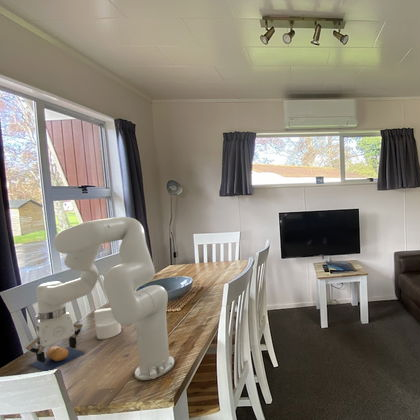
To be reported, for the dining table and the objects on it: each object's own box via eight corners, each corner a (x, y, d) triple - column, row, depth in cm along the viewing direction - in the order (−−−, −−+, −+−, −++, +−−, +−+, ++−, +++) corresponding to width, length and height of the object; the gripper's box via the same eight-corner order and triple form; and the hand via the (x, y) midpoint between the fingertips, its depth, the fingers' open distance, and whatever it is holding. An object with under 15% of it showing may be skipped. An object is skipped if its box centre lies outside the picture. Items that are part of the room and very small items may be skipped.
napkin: (84, 353, 112) (84, 353, 112) (46, 372, 101) (46, 371, 101) (68, 347, 116) (68, 347, 116) (30, 365, 105) (29, 364, 105)
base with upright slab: (123, 327, 133) (121, 303, 132) (117, 336, 124) (114, 311, 123) (101, 331, 129) (99, 307, 128) (93, 340, 121) (90, 315, 120)
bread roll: (71, 357, 109) (70, 347, 108) (57, 364, 105) (55, 353, 104) (58, 353, 112) (57, 342, 112) (44, 359, 108) (42, 348, 108)
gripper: (27, 325, 97) (33, 370, 99) (84, 305, 113) (89, 344, 115) (17, 322, 100) (23, 365, 102) (74, 303, 116) (78, 340, 118)
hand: (58, 354), depth 108 cm, fingers open, 9 cm apart
